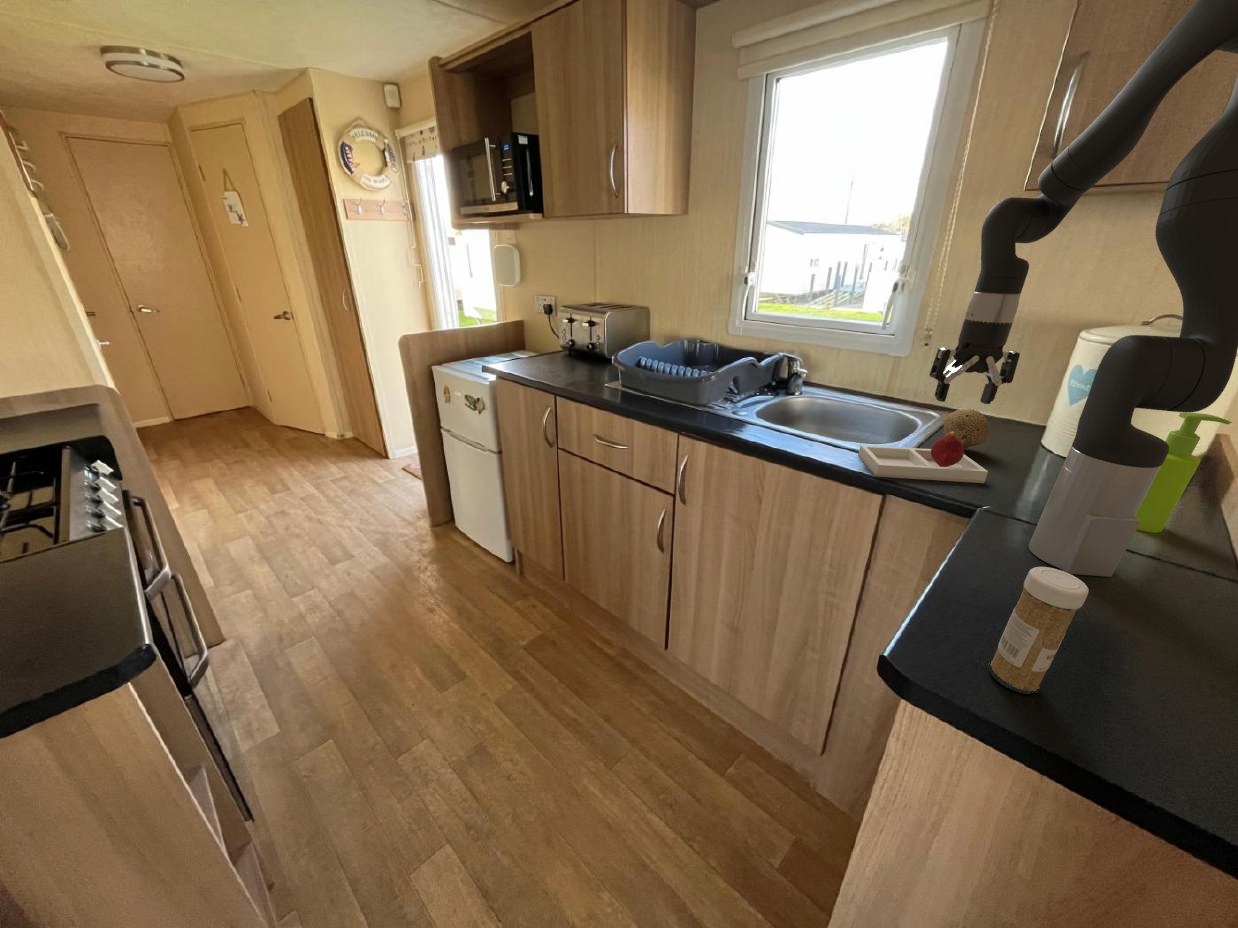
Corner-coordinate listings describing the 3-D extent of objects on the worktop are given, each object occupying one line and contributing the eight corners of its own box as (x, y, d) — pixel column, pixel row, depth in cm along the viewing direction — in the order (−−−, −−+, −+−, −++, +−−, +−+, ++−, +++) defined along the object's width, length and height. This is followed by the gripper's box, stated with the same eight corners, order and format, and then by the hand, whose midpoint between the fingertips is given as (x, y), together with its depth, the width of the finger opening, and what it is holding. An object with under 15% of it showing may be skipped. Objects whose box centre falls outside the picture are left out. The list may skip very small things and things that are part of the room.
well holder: (983, 483, 98) (988, 471, 97) (875, 476, 100) (878, 464, 99) (955, 461, 108) (959, 450, 107) (858, 455, 110) (860, 445, 109)
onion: (963, 474, 100) (975, 438, 97) (933, 471, 101) (943, 435, 98) (951, 463, 106) (962, 428, 102) (922, 461, 107) (932, 426, 103)
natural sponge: (979, 447, 116) (993, 407, 112) (985, 460, 109) (1000, 418, 105) (935, 440, 120) (947, 401, 116) (938, 452, 113) (951, 411, 109)
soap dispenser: (1178, 536, 81) (1244, 423, 72) (1125, 528, 83) (1184, 417, 75) (1156, 520, 86) (1215, 412, 77) (1108, 512, 88) (1160, 406, 80)
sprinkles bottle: (1045, 702, 50) (1100, 598, 45) (993, 689, 52) (1041, 587, 46) (1028, 669, 54) (1076, 570, 49) (980, 657, 56) (1022, 560, 50)
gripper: (959, 319, 88) (934, 405, 95) (1043, 322, 87) (1012, 409, 93) (939, 314, 95) (916, 395, 101) (1016, 317, 94) (988, 398, 100)
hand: (962, 402), depth 97 cm, fingers open, 8 cm apart
